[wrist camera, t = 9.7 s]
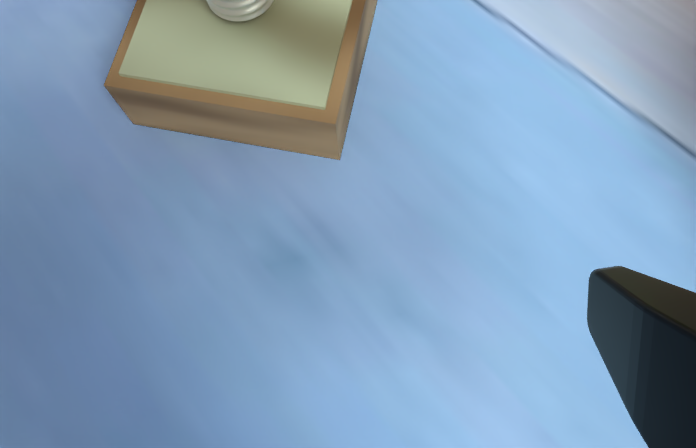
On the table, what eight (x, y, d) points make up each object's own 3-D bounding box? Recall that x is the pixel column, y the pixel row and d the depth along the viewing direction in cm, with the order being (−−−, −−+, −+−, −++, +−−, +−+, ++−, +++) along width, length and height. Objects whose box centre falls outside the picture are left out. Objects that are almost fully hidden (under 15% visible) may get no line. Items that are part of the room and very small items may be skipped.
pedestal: (339, 159, 25) (334, 121, 22) (133, 123, 26) (101, 82, 23) (381, -16, 28) (382, -72, 25) (194, -43, 28) (172, -99, 25)
